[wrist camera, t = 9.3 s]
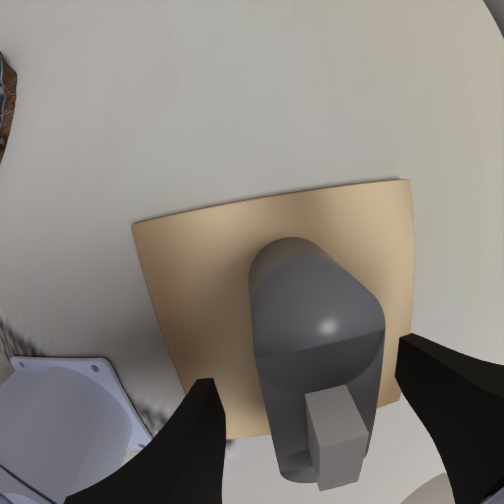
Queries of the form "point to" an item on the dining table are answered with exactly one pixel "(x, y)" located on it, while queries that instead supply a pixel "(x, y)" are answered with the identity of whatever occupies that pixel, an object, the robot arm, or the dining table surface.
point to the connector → (315, 360)
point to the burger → (6, 101)
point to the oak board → (237, 287)
